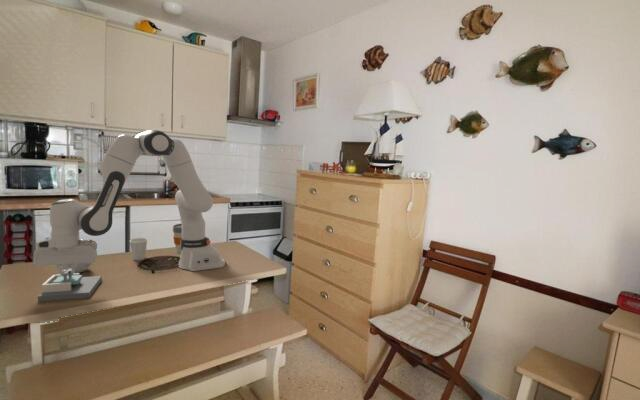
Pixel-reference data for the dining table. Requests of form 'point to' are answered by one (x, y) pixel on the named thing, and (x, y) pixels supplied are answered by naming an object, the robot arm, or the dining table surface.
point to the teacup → (77, 267)
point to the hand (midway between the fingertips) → (67, 274)
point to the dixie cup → (138, 248)
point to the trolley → (68, 278)
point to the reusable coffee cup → (177, 237)
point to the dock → (68, 288)
